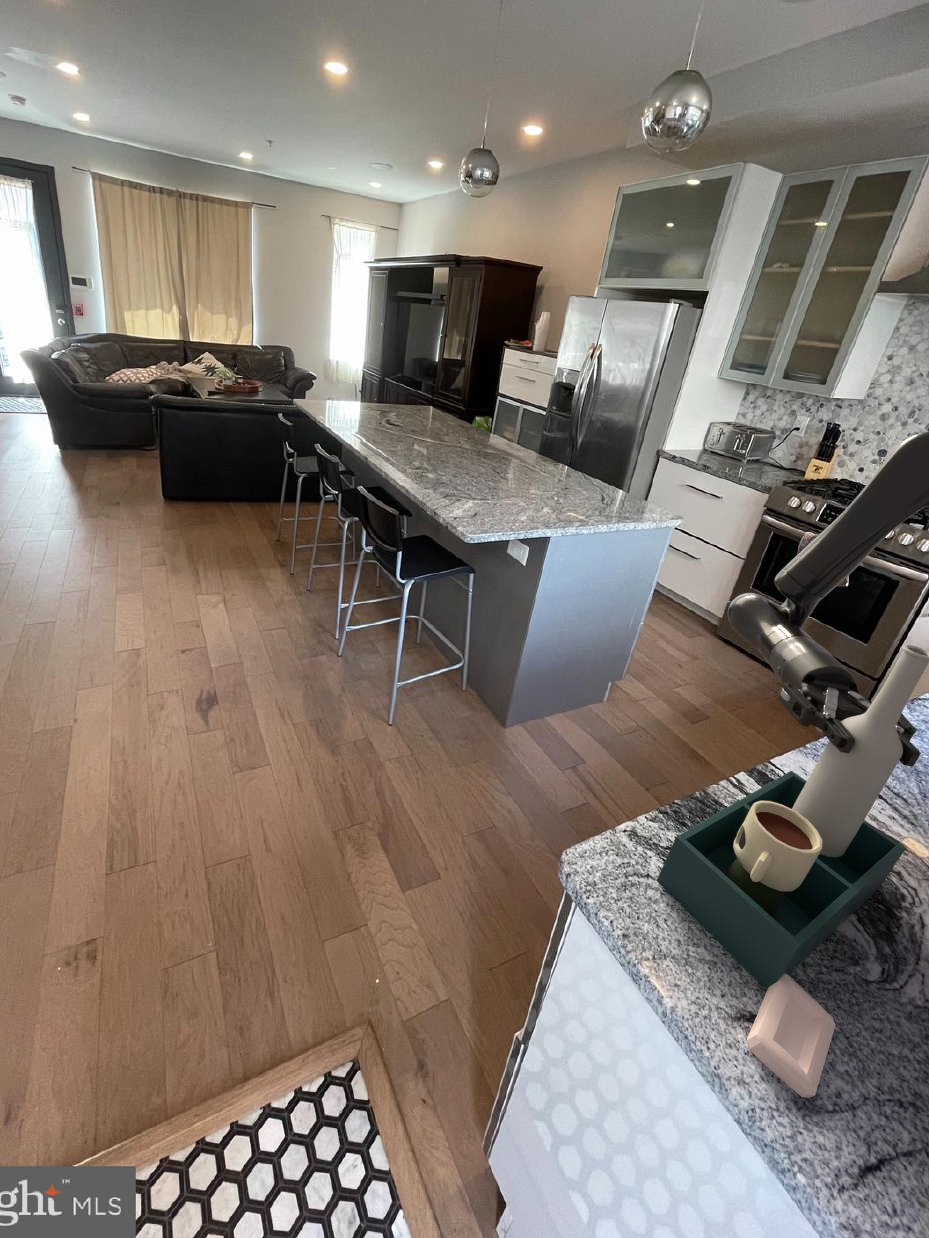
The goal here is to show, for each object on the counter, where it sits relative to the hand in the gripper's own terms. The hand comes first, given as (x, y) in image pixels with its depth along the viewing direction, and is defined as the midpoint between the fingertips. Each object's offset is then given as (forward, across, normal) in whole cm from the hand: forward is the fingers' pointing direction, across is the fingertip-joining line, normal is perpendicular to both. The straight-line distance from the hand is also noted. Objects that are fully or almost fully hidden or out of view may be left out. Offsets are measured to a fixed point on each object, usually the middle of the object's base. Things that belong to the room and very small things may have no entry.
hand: (880, 753), depth 63 cm
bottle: (-2, 0, +16) cm, 16 cm away
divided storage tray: (+2, -5, +21) cm, 22 cm away
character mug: (+6, -10, +21) cm, 24 cm away
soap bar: (+20, -11, +22) cm, 31 cm away
